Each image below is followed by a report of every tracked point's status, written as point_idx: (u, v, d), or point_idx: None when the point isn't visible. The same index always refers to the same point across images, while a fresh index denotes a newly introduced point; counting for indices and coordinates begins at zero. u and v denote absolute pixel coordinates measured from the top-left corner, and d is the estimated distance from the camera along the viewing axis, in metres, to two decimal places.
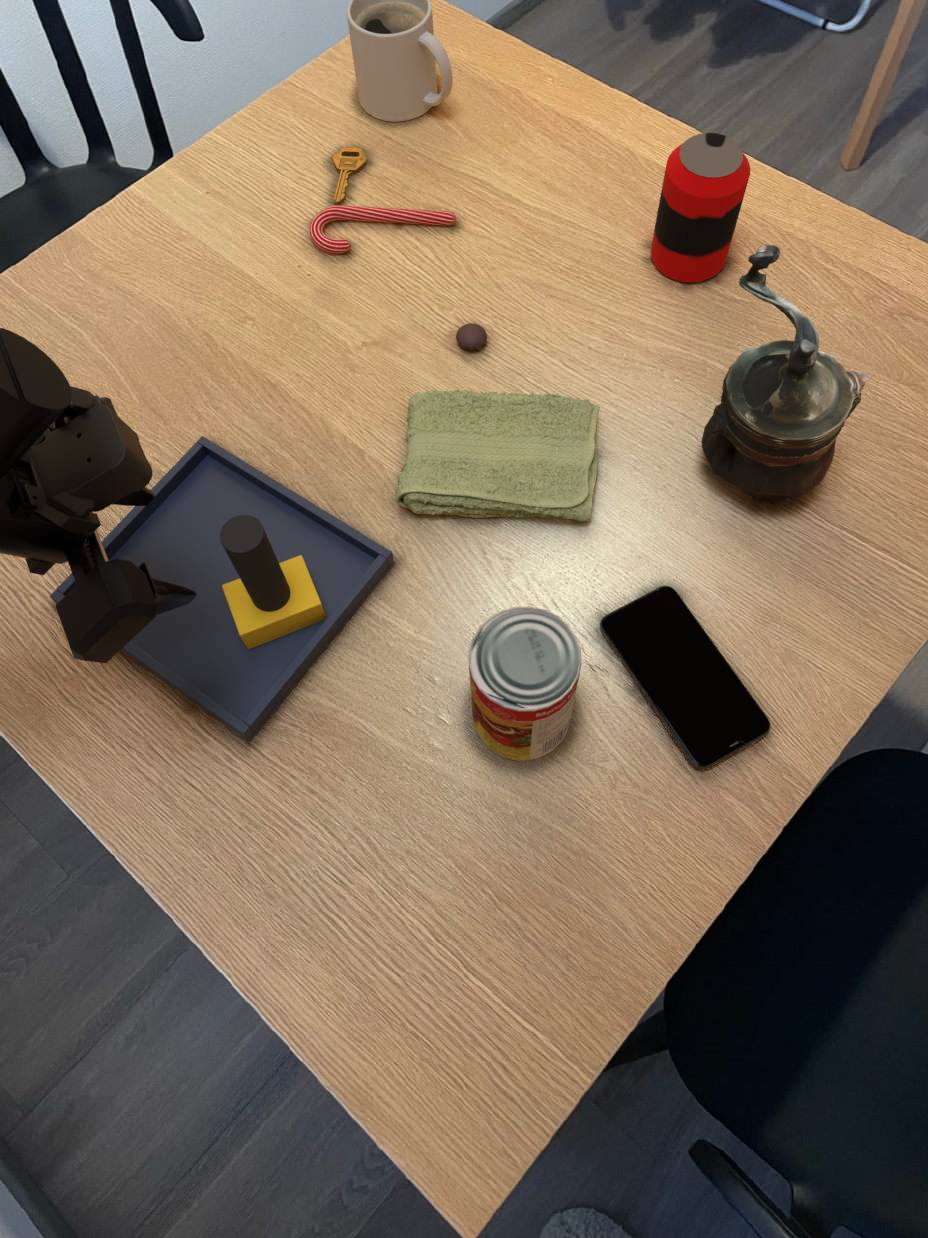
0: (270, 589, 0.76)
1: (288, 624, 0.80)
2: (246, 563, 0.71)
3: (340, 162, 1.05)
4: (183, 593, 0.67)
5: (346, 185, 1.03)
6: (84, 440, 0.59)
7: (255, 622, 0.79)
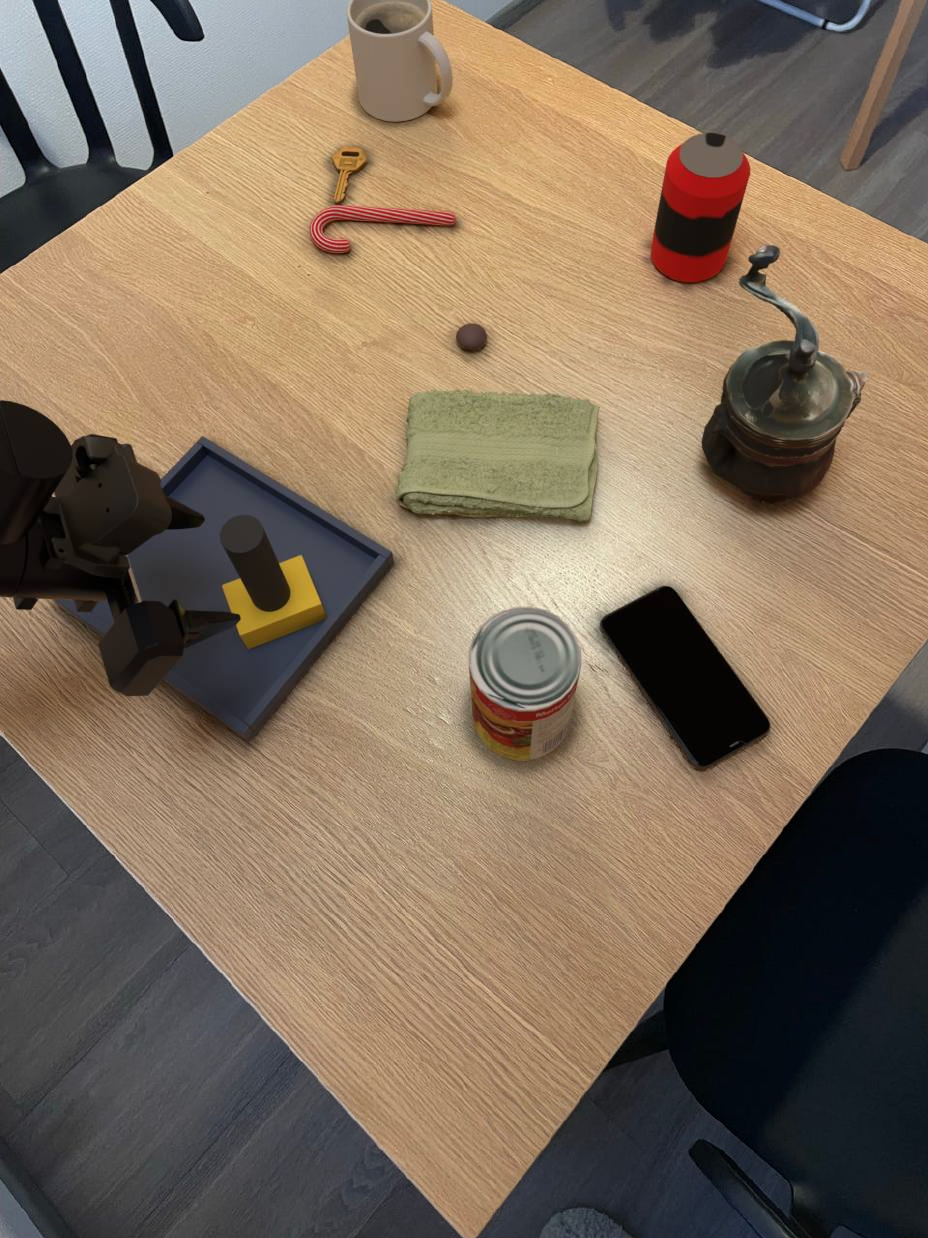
0: (270, 589, 0.76)
1: (288, 624, 0.80)
2: (246, 563, 0.71)
3: (340, 162, 1.05)
4: (224, 619, 0.70)
5: (346, 185, 1.03)
6: (104, 490, 0.61)
7: (255, 622, 0.79)
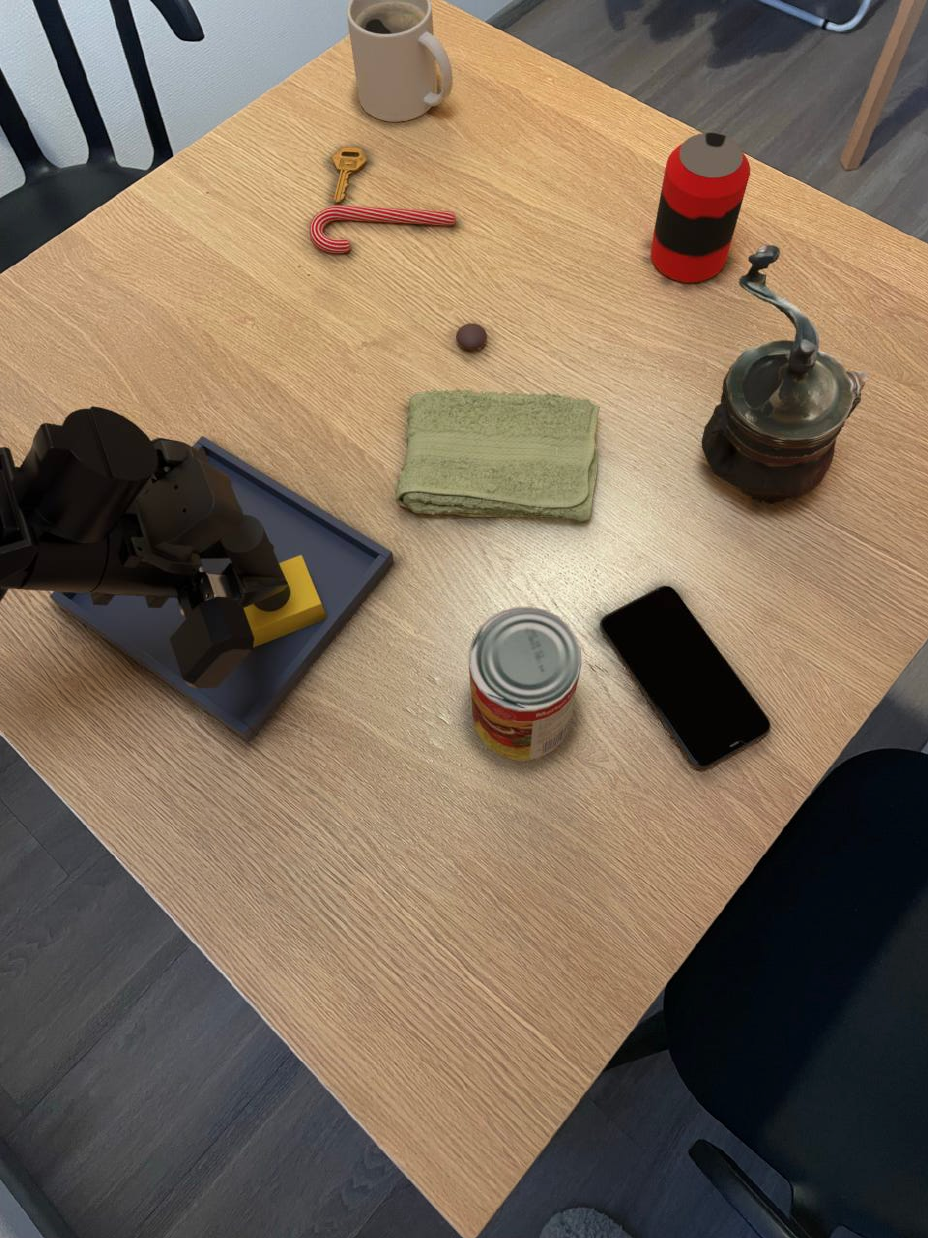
0: None
1: (288, 624, 0.80)
2: (246, 563, 0.71)
3: (340, 162, 1.05)
4: (274, 584, 0.74)
5: (346, 185, 1.03)
6: (180, 492, 0.64)
7: (255, 622, 0.79)
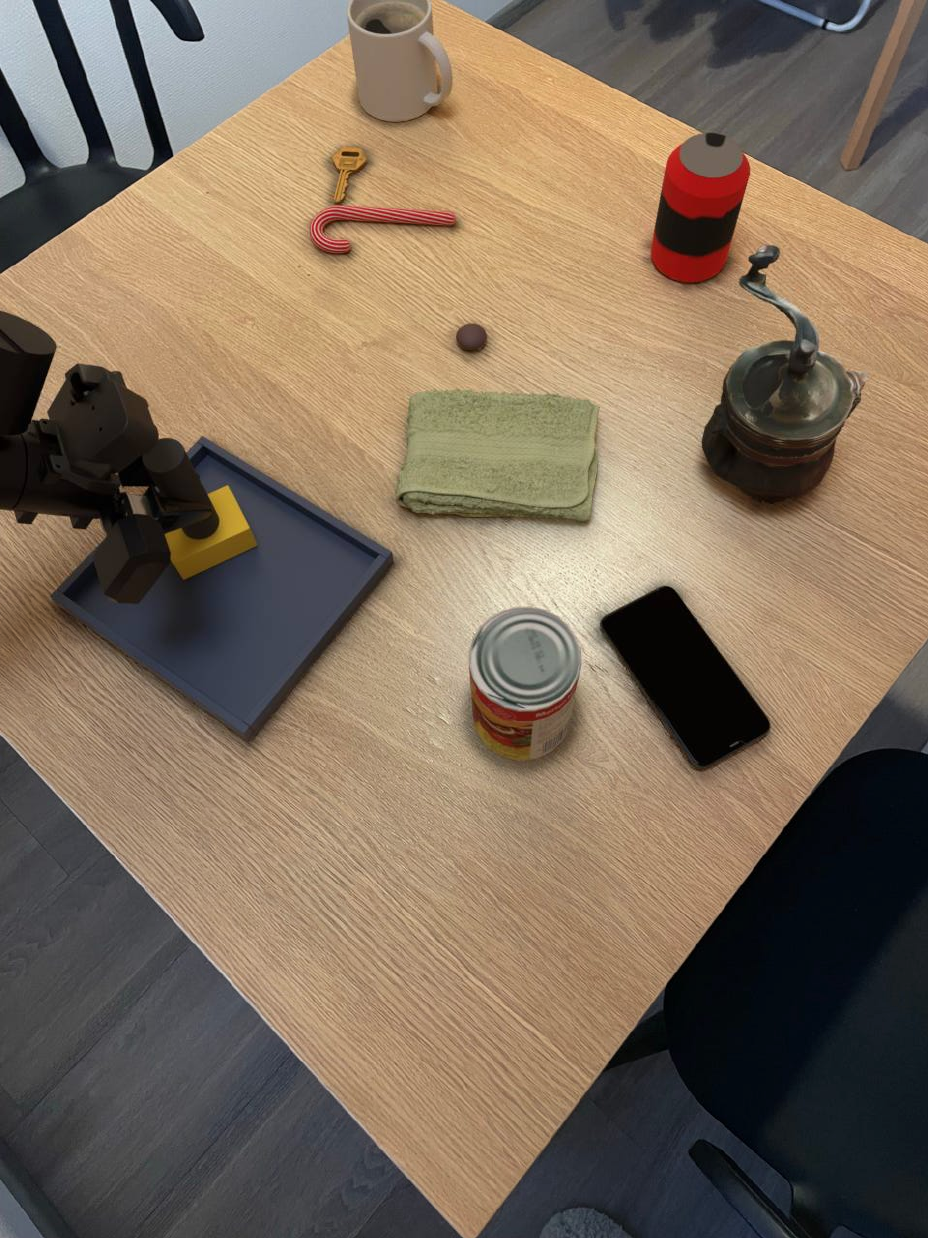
0: None
1: (220, 551, 0.83)
2: (170, 484, 0.74)
3: (340, 162, 1.05)
4: (197, 509, 0.77)
5: (346, 185, 1.03)
6: (96, 412, 0.68)
7: (187, 550, 0.82)
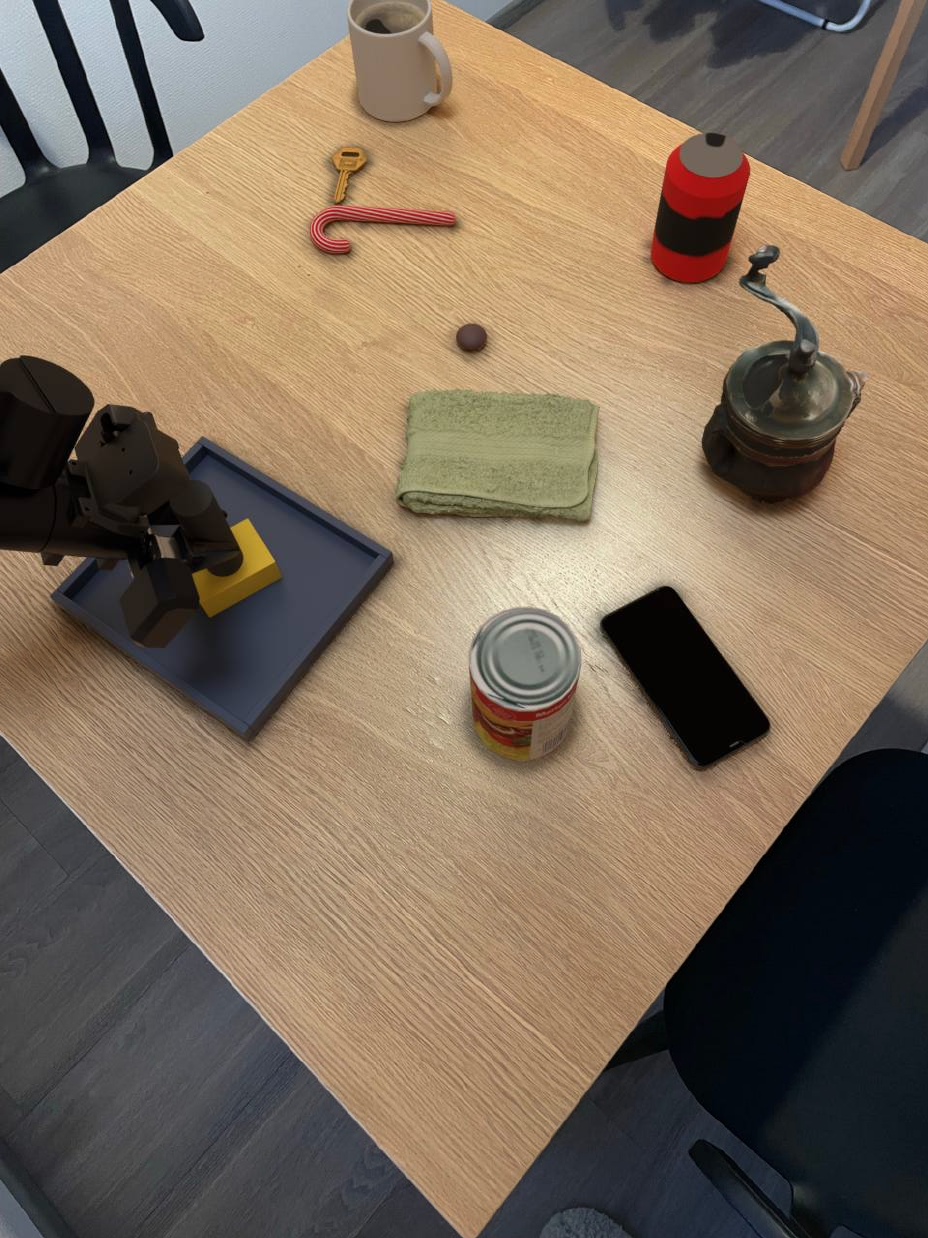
0: None
1: (246, 586, 0.81)
2: (199, 527, 0.73)
3: (340, 162, 1.05)
4: (225, 549, 0.76)
5: (346, 185, 1.03)
6: (127, 454, 0.66)
7: (213, 588, 0.80)
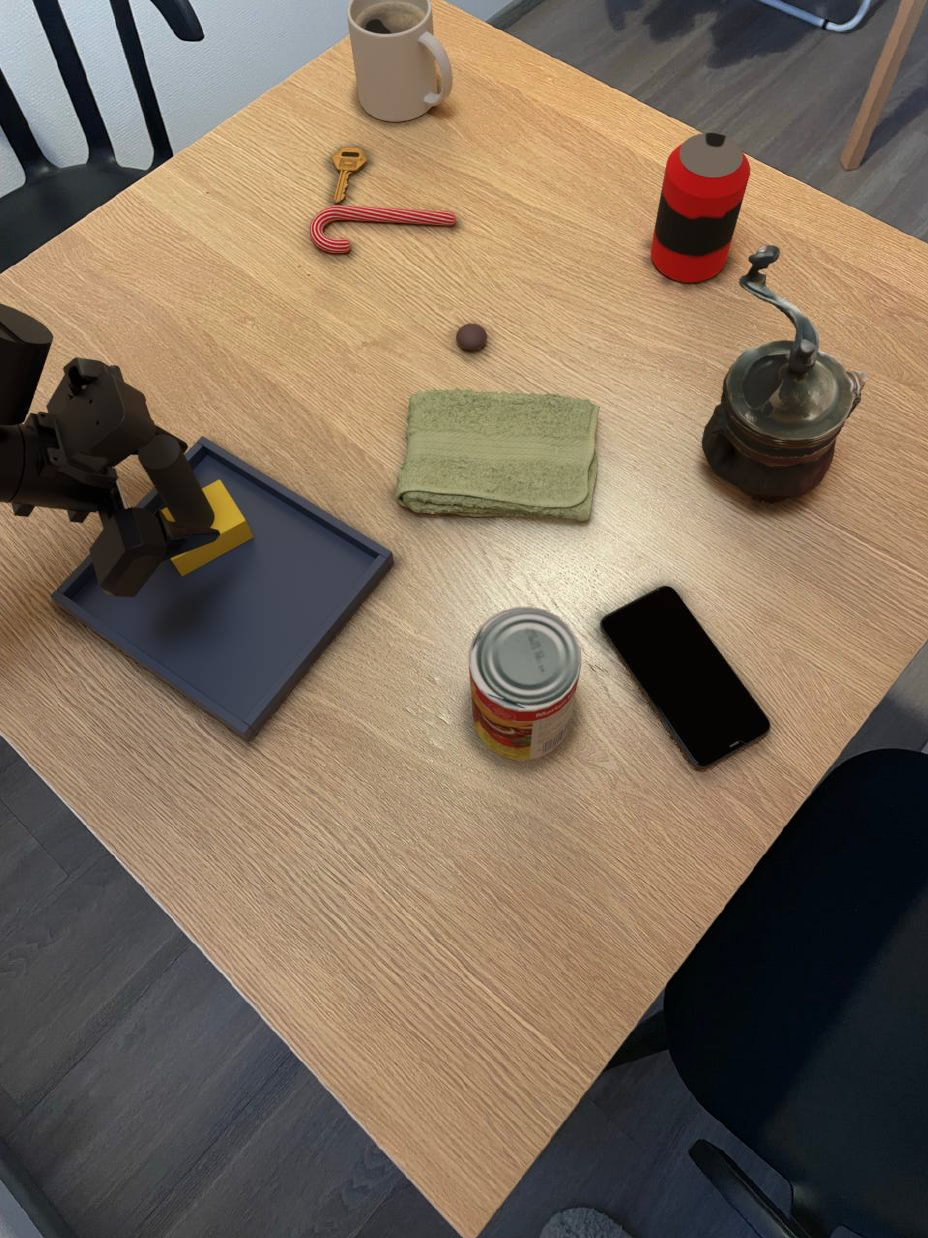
0: (194, 508, 0.79)
1: (217, 545, 0.83)
2: (167, 480, 0.75)
3: (340, 162, 1.05)
4: (204, 532, 0.76)
5: (346, 185, 1.03)
6: (94, 405, 0.68)
7: None
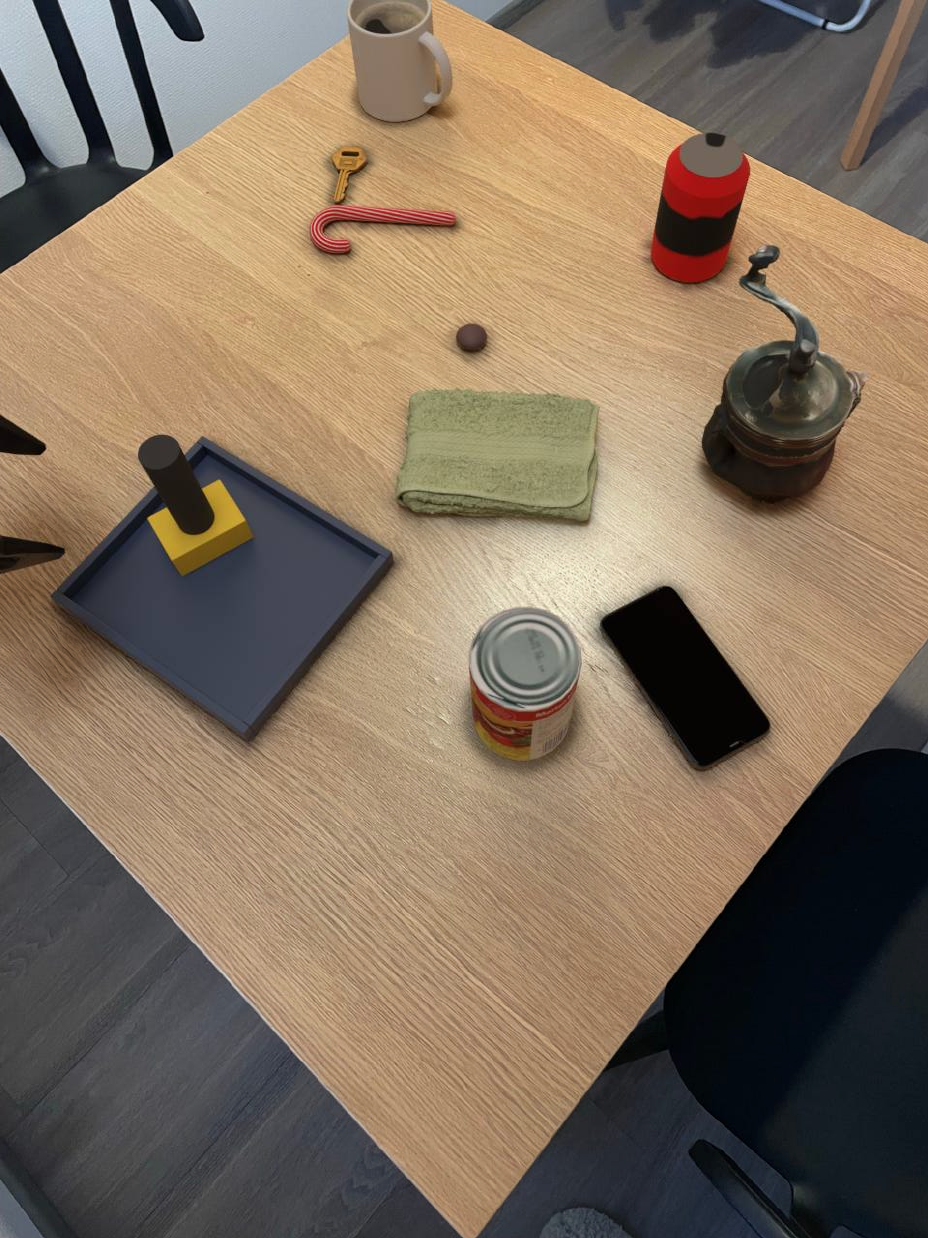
0: (194, 508, 0.79)
1: (217, 545, 0.83)
2: (167, 480, 0.75)
3: (340, 162, 1.05)
4: (45, 550, 0.69)
5: (346, 185, 1.03)
6: None
7: (185, 546, 0.82)
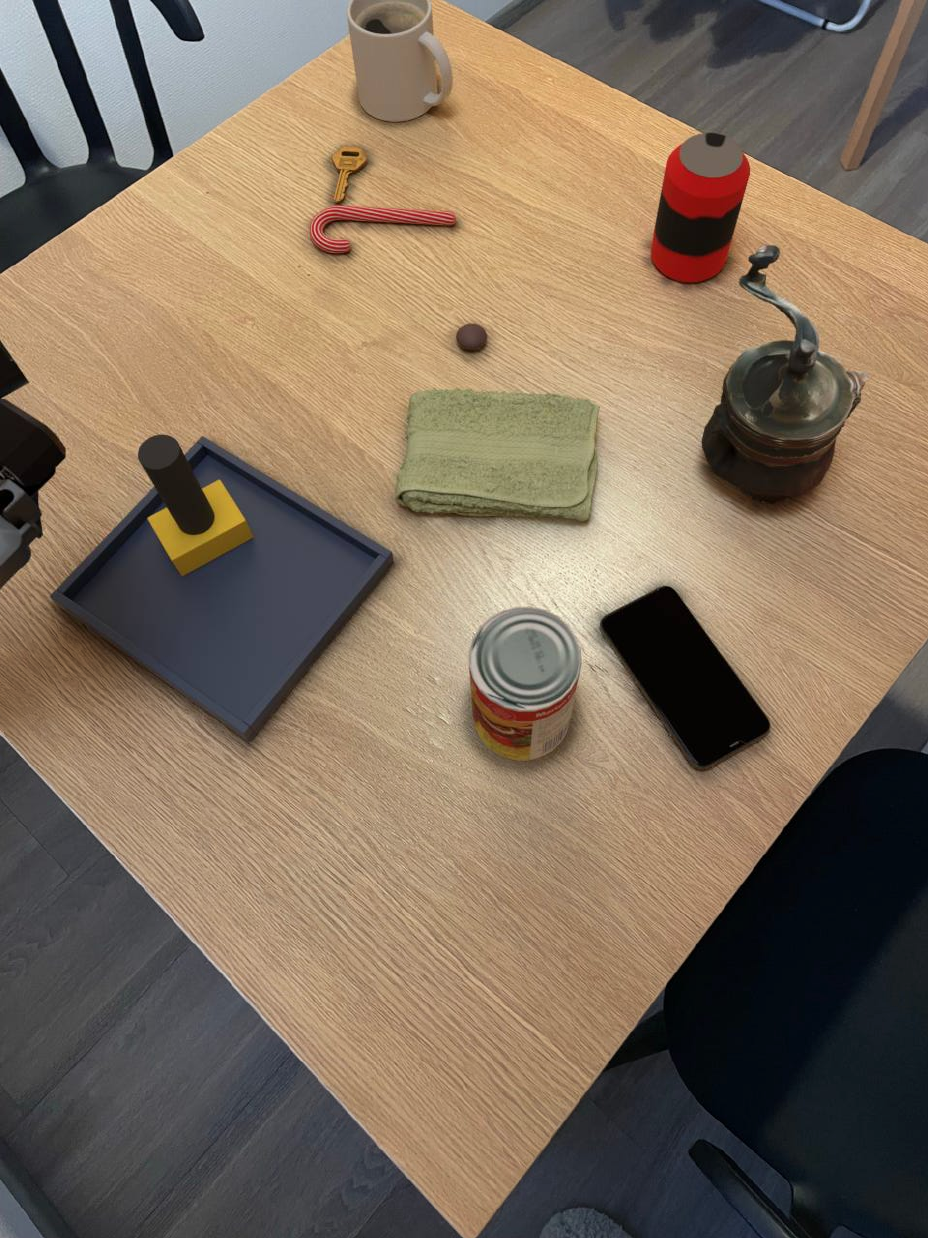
0: (194, 508, 0.79)
1: (217, 545, 0.83)
2: (167, 480, 0.75)
3: (340, 162, 1.05)
4: None
5: (346, 185, 1.03)
6: None
7: (185, 546, 0.82)
